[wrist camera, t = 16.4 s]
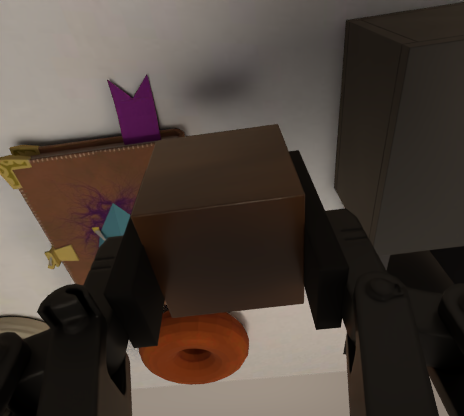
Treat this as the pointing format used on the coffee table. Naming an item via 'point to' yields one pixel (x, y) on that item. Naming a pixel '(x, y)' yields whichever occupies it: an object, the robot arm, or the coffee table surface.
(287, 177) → the block
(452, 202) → the cabinet
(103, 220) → the book
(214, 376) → the donut
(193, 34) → the coffee table surface
